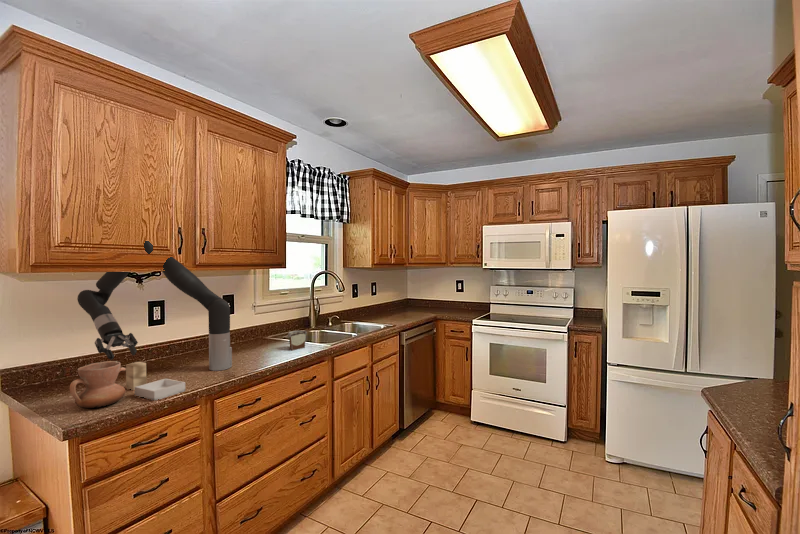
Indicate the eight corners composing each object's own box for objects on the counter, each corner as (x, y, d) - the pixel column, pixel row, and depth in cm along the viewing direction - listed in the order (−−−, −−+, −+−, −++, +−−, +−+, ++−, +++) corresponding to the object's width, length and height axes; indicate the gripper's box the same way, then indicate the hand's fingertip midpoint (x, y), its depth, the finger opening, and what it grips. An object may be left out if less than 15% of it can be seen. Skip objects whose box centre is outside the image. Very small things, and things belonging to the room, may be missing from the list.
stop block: (139, 385, 162) (138, 361, 162) (146, 387, 160) (146, 362, 160) (126, 389, 157) (125, 364, 157) (133, 390, 155) (133, 365, 155)
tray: (165, 386, 160) (165, 378, 160) (185, 391, 155) (185, 382, 155) (134, 396, 149) (134, 387, 149) (154, 400, 144) (154, 391, 144)
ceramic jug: (114, 393, 152) (112, 357, 151) (137, 398, 146) (136, 360, 145) (58, 411, 135) (56, 370, 135) (82, 417, 129) (80, 374, 129)
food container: (300, 346, 237) (299, 329, 237) (306, 347, 233) (306, 330, 233) (283, 349, 227) (283, 332, 227) (290, 351, 223) (289, 333, 223)
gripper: (92, 323, 159) (108, 354, 155) (129, 318, 172) (145, 347, 167) (85, 335, 162) (101, 366, 157) (122, 329, 175) (138, 358, 170)
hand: (123, 356), depth 162 cm, fingers open, 8 cm apart
